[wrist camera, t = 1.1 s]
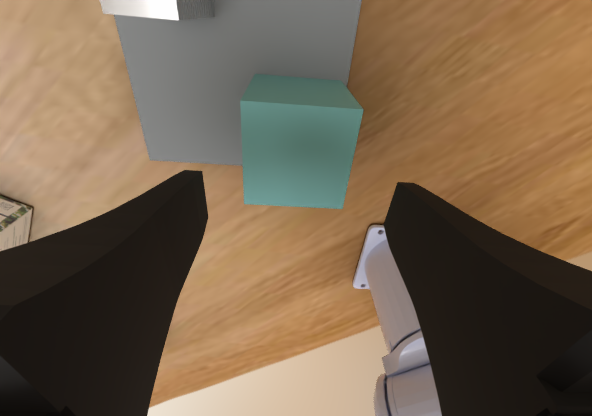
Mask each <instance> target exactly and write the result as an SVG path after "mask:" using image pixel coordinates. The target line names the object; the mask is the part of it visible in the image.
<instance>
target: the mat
mask: <svg viewBox="0 0 592 416" xmlns="http://www.w3.org/2000/svg"><path fill="white" fill-rule="evenodd" d="M361 1H362V0H214V10H215V18H202V19H189V20H170V19H159V18H148V17H137V16H126V15H115V14H114V17H115V21H116V25H117V29H118V33H119V37H120V41H121V45H122V49H123V53H124V57H125V62H126V66H127V70H128V74H129V78H130V82H131V86H132V90H133V94H134V98H135V102H136V106H137V110H138V114H139V118H140V122H141V126H142V130H143V134H144V138H145V142H146V146H147V150H148V154H149V158H150V160H156V161H173V162H190V163H207V164H224V165H241V166H243V160H242V134H241V107H240V100H241V98H242V96H243V95H244V93H245V91H246V89H247V87H248V86H249V84H250V82H251V80H252V78H253V76H254V75H255V74H264V75H277V76H289V77H302V78H314V79H327V80H340V81H342V82H343V83H344V85H345V86H346V87H347V83H348V77H349V72H350V66H351V60H352V54H353V48H354V42H355V36H356V31H357V25H358V19H359V13H360V7H361Z"/></svg>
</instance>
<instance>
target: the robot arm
mask: <svg viewBox="0 0 592 416" xmlns="http://www.w3.org/2000/svg"><path fill="white" fill-rule="evenodd" d="M207 220H208V212H207V204H206V197H205V189H204V182H203V174H202V171H191V170H184V171H182V172H180V173H178V174H176V175H174V176H172V177H171V178H169V179H167V180H166V181H164V182H162V183H160V184H159V185H157V186H155V187H154V188H152V189H150V190H148V191H147V192H145V193H143V194H142V195H140V196H138V197H136V198H134V199H132V200H130V201H128V202H126V203H125V204H123V205H121V206H119V207H117V208H115V209H113V210H111V211H109V212H107V213H105V214H102V215H100V216H98V217H96V218H93V219H91V220H89V221H86V222H84V223H81V224H79V225H76V226H74V227H71V228H69V229H66V230H63V231H60V232H57V233H55V234H52V235H49V236H46V237H43V238H41V239H38V240H35V241H32V242H29V243H26V244H22V245H19V246H16V247H13V248H9V249H6V250H3V251H0V416H147V413H148V409H149V404H150V400H151V395H152V391H153V387H154V383H155V379H156V375H157V371H158V367H159V363H160V359H161V356H162V352H163V348H164V345H165V341H166V337H167V334H168V330H169V327H170V323H171V320H172V317H173V313H174V310H175V306H176V303H177V300H178V297H179V295H180V292H181V289H182V287H183V285H184V282H185V280H186V278H187V275H188V273H189V271H190V268H191V266H192V263H193V261H194V259H195V256H196V254H197V251H198V249H199V247H200V244H201V242H202V239H203V235H204V232H205V228H206V224H207ZM379 230H382V231H380V232H378V231H379ZM353 287H354V288H357V289H370V291H371V295H372V298H373V302H374V305H375V309H376V312H377V315H378V319H379V322H380V326H381V329H382V332H383V336H384V339H385V343H386V346H387V350H388V353H389V354H388V355H386V356H384V357H382V361H383V365H384V369H385V372H386V373H385V374H381V375H380V376H379V377H378V379H377V382H376V389H375V393H374V409H375V415H376V416H592V271H590V270H587V269H584V268H581V267H579V266H576V265H573V264H570V263H568V262H566V261H563V260H561V259H558V258H556V257H553V256H551V255H548V254H546V253H543V252H541V251H539V250H536V249H534V248H532V247H530V246H527V245H525V244H523V243H521V242H519V241H517V240H515V239H513V238H510V237H508V236H506V235H504V234H502V233H500V232H498V231H496V230H494V229H493V228H491V227H489V226H487V225H485V224H483V223H482V222H480V221H478V220H476V219H474V218H473V217H471V216H469V215H468V214H466V213H464V212H463V211H461V210H459V209H458V208H456V207H454V206H453V205H451V204H449V203H448V202H446V201H445V200H443V199H441V198H440V197H438V196H436V195H435V194H433V193H432V192H430V191H428V190H426V189H425V188H423V187H421V186H419V185H417V184H415V183H404V182H398V183H397V186H396V189H395V192H394V195H393V198H392V201H391V204H390V207H389V210H388V213H387V216H386V219H385V222H384V225H372V226H370V227H369V229H368V232H367V235H366V239H365V242H364V246H363V249H362V252H361V256H360V259H359V263H358V266H357V269H356V273H355V276H354V280H353Z"/></svg>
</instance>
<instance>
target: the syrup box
mask: <svg viewBox="0 0 592 416" xmlns="http://www.w3.org/2000/svg"><path fill="white" fill-rule="evenodd" d="M31 215H32V208H31V207H29V206H26V205H24V204H21V203H18V202H16V201H13V200H11V199H8V198H5V197H3V196H0V251H3V250H6V249H9V248H13V247H16V246H19V245H22V244H26V243H28V237H29V231H30V224H31Z"/></svg>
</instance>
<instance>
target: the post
mask: <svg viewBox="0 0 592 416" xmlns="http://www.w3.org/2000/svg"><path fill="white" fill-rule="evenodd" d="M100 3H101V7H102V10H103V14H115V15H126V16H137V17H148V18H159V19H170V20H189V19H202V18H215V10H214V0H100Z"/></svg>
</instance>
